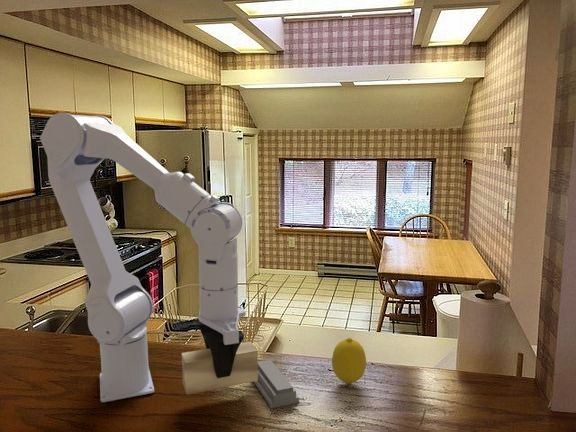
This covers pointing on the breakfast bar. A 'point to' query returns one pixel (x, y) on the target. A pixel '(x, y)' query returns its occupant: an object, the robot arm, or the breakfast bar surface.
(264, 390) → the stepped block
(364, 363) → the lemon
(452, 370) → the breakfast bar surface
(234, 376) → the bar
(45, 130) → the robot arm
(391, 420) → the breakfast bar surface
